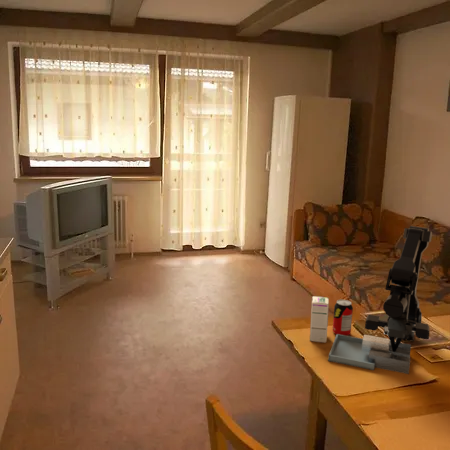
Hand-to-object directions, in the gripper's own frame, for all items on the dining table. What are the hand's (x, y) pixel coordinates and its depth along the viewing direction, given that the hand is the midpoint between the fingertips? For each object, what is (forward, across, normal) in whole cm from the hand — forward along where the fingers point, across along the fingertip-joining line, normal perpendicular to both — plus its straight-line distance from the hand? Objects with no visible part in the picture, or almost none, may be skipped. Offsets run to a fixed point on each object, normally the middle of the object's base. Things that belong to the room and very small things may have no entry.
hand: (394, 351), depth 152 cm
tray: (+4, -12, 0) cm, 13 cm away
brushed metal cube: (+1, -8, 0) cm, 8 cm away
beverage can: (+4, -18, +13) cm, 23 cm away
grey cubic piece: (+1, -4, 0) cm, 4 cm away
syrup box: (+4, -25, +6) cm, 26 cm away
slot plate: (+4, -1, 0) cm, 4 cm away
